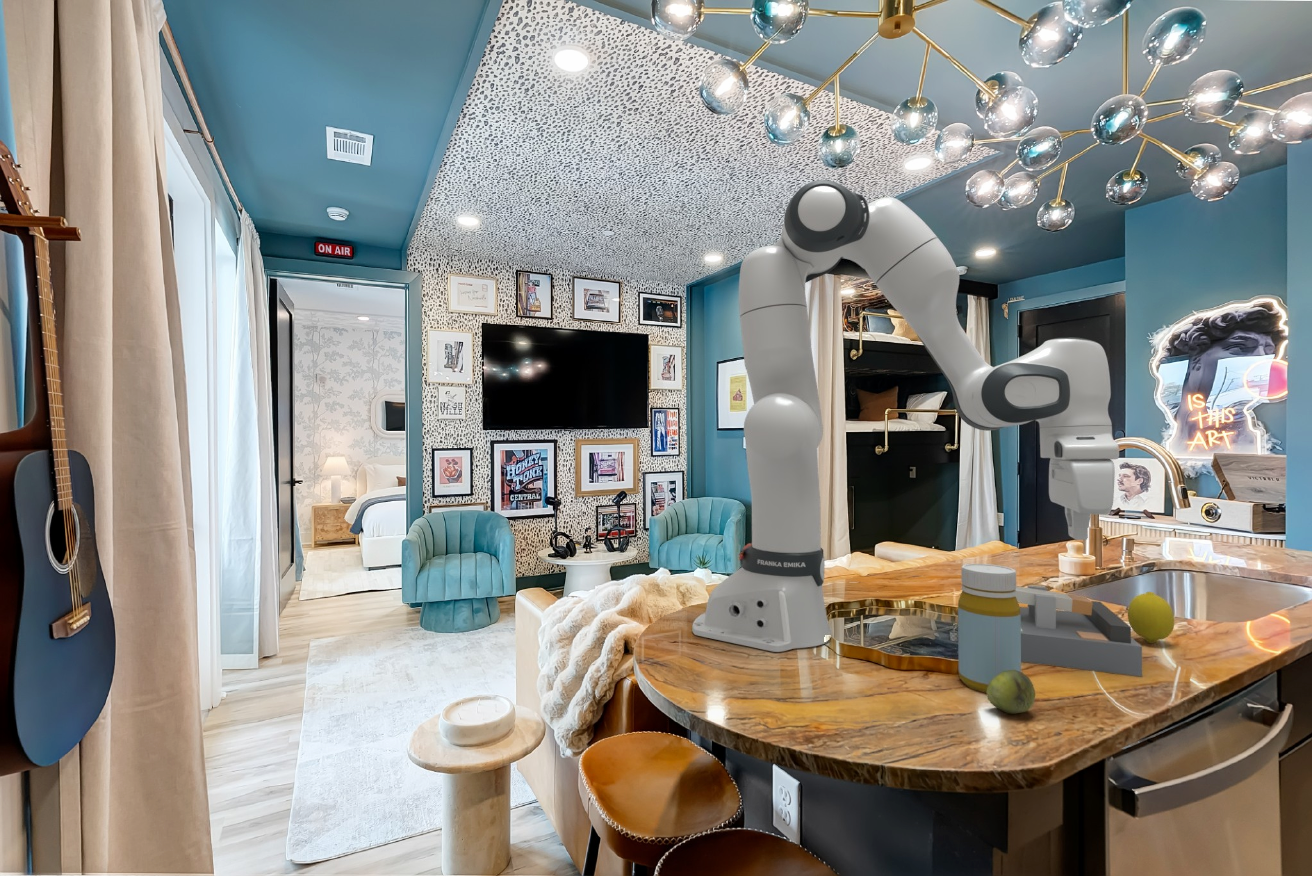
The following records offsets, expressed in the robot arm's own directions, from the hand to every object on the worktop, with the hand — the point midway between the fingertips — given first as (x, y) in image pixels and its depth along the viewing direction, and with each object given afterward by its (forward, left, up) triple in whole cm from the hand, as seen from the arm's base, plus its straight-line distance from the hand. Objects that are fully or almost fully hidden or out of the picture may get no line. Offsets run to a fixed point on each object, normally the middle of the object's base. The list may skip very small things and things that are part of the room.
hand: (1078, 538), depth 88 cm
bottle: (-14, -19, -17) cm, 29 cm away
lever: (-5, 0, -9) cm, 11 cm away
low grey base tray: (-5, 0, -17) cm, 18 cm away
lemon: (+11, +9, -17) cm, 22 cm away
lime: (-12, -27, -17) cm, 34 cm away
